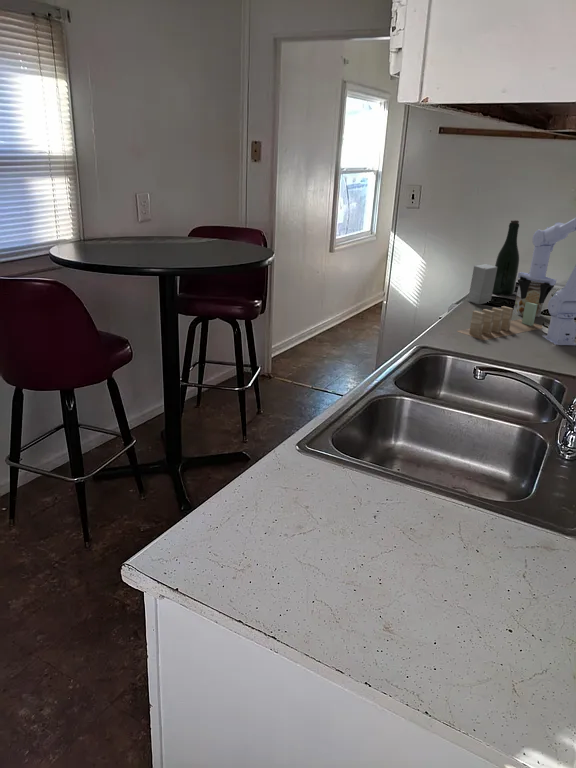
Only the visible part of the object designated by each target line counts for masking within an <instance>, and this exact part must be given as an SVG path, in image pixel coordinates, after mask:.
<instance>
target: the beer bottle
mask: <svg viewBox="0 0 576 768" xmlns="http://www.w3.org/2000/svg"><path fill="white" fill-rule="evenodd" d="M519 222H520V221H519V220H517V219H511V220H510V222H509V224H508V230H507V236H506V239H505V241H504V244H503V245H502V247H501V249H500V250H499V252H498V254H497V255H496V256H497V257H496V260H495V265H494V266H495V267H497V272H496V277H495V282H494V287H493V292H492V294H496V295H501V296H512V295H514V293H515V290H516V284H517V280H518V273H519V267H520V265H519V264H520V253H519V252H520V251H519V246H518V233H519V229H520V223H519Z"/></svg>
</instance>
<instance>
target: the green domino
mask: <svg viewBox="0 0 576 768" xmlns="http://www.w3.org/2000/svg"><path fill="white" fill-rule="evenodd" d="M537 305H538V304H534V303H530V302H526V303H525V308H524V314H523V316H522V319H521V320H522V323H523V324H526V325H530V326H532V325H534V323H535V319H536V317H535V315H536V310H537Z"/></svg>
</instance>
